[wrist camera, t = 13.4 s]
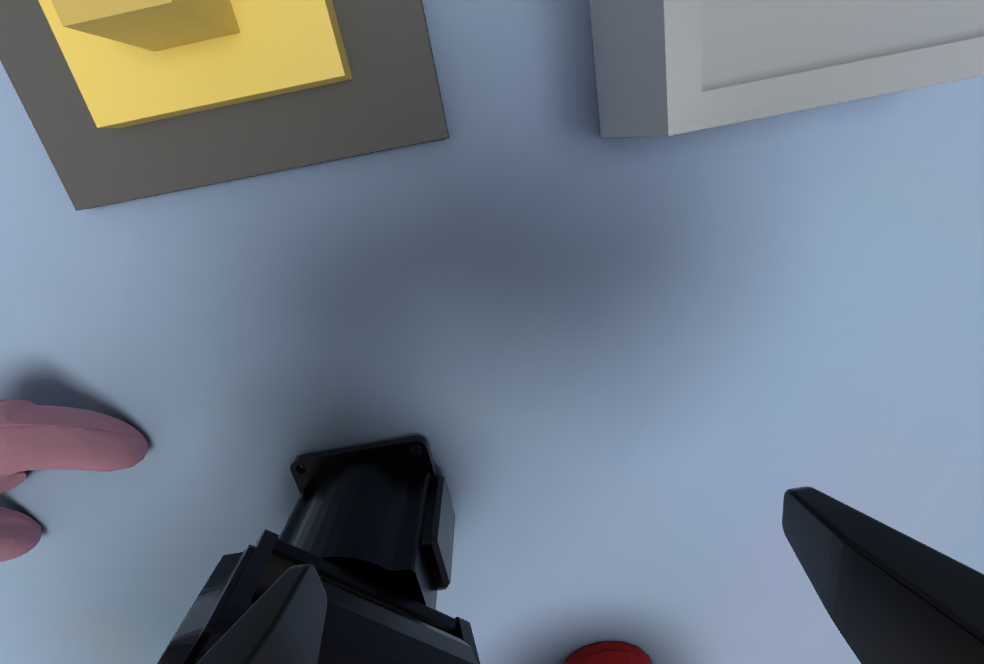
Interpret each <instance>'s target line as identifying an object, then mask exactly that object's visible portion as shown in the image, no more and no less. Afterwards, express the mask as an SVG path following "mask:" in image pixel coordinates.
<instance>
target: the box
mask: <svg viewBox="0 0 984 664" xmlns="http://www.w3.org/2000/svg"><path fill="white" fill-rule="evenodd" d="M589 8H590V19H591V31H592V42H593V54H594V65H595V77H596V88H597V100H598V111H599V123H600V134H601V137H645V136H671V135H676V134H681V133H687V132H692V131H697V130H702V129H707V128H712V127H718V126H723V125H728V124H733V123H738V122H744V121H749V120H754V119H759V118H764V117H769V116H775V115H780V114H785V113H790V112H795V111H801V110H806V109H811V108H816V107H821V106H826V105H832V104H837V103H842V102H847V101H852V100H858V99H863V98H868V97H873V96H878V95H883V94H889V93H894V92H899V91H904V90H909V89H915V88H920V87H925V86H930V85H935V84H940V83H946V82H951V81H956V80H961V79H966V78H972V77H977V76H982V75H984V0H589Z"/></svg>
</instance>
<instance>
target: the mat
mask: <svg viewBox="0 0 984 664" xmlns="http://www.w3.org/2000/svg"><path fill="white" fill-rule="evenodd" d="M332 2H333V6H334V10H335V13H336V17H337V21H338V25H339V29H340V32H341V36H342V40H343V44H344V47H345V51H346V55H347V59H348V63H349V66H350V70H351V74H352V78H353V79H351V80H346V81H341V82H337V83H332V84H327V85H322V86H318V87H313V88H308V89H304V90H299V91H294V92H289V93H285V94H280V95H275V96H270V97H266V98H261V99H256V100H252V101H247V102H242V103H237V104H233V105H228V106H223V107H218V108H214V109H209V110H204V111H199V112H195V113H190V114H185V115H181V116H176V117H171V118H166V119H162V120H157V121H152V122H147V123H143V124H138V125H133V126H129V127H124V128H119V129H118V128H97V126H96V124H95V122H94V120H93V117H92V115H91V113H90V111H89V109H88V107H87V104H86V102H85V100H84V98H83V96H82V94H81V91H80V89H79V87H78V85H77V83H76V81H75V78H74V76H73V74H72V72H71V70H70V68H69V66H68V63H67V61H66V59H65V57H64V55H63V53H62V50H61V48H60V46H59V44H58V42H57V40H56V37H55V35H54V33H53V31H52V29H51V27H50V24H49V22H48V20H47V18H46V16H45V14H44V11H43V9H42V7H41V5H40V3H39V1H38V0H0V60H1V62H2V64H3V66H4V68H5V70H6V72H7V74H8V76H9V78H10V80H11V82H12V84H13V86H14V88H15V90H16V92H17V94H18V96H19V98H20V100H21V102H22V104H23V106H24V108H25V110H26V112H27V114H28V116H29V118H30V120H31V122H32V124H33V126H34V128H35V130H36V132H37V134H38V136H39V138H40V140H41V142H42V144H43V146H44V148H45V150H46V152H47V154H48V156H49V158H50V160H51V161H52V163H53V165H54V167H55V169H56V171H57V173H58V175H59V177H60V179H61V181H62V183H63V185H64V187H65V189H66V191H67V193H68V195H69V197H70V199H71V201H72V203H73V205H74V207H75V209H76V211H77V210H83V209H89V208H94V207H99V206H104V205H109V204H114V203H119V202H124V201H129V200H134V199H139V198H144V197H149V196H155V195H160V194H165V193H170V192H175V191H180V190H185V189H190V188H195V187H200V186H205V185H210V184H215V183H220V182H226V181H231V180H236V179H241V178H246V177H251V176H256V175H261V174H266V173H271V172H276V171H281V170H286V169H291V168H297V167H302V166H307V165H312V164H317V163H322V162H327V161H332V160H337V159H342V158H347V157H352V156H357V155H362V154H368V153H373V152H378V151H383V150H388V149H393V148H398V147H403V146H408V145H413V144H418V143H423V142H428V141H433V140H439V139H444V138H449V135H448V130H447V125H446V120H445V115H444V110H443V105H442V100H441V95H440V90H439V85H438V80H437V75H436V70H435V65H434V60H433V55H432V50H431V45H430V40H429V35H428V30H427V25H426V20H425V15H424V10H423V5H422V0H332Z"/></svg>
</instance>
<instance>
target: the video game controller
mask: <svg viewBox="0 0 984 664" xmlns="http://www.w3.org/2000/svg"><path fill="white" fill-rule="evenodd" d="M147 450H148V443H147V440H146V439H145V437H144V436H143V435H142V434H141V433H140V432H139V431H138V430H137V429H136V428H134V427H132V426H131V425H129V424H127V423H126V422H124V421H122V420H119V419H117V418H114V417H111V416H109V415H106V414H103V413H100V412H95V411H91V410H86V409H80V408H72V407H63V406H51V405H36V404H34V403H33V402H31V401H28V400H23V399H13V400H3V401H0V493H3V492H5V491H7V490H9V489H11V488H13V487H15V486H17V485H18V484H20V483H21V482H22V481H24V480H25V479H26V476H27V475H26V473H25V471H27V470H40V469H73V470H89V471H115V470H120V469H125V468H130V467H132V466H134V465H136V464H137V463H139V462H140V461H141V460H143V458H144V457H145V455H146V454H147ZM40 538H41V526H40V525H39V524H38V523H37V522H36V521H35V520H34V519H32V518H31V517H29V516H28V515H26V514H24V513H21V512H18V511H15V510H11V509H8V508H4V507H1V506H0V562H2V561H6V560H10V559H13V558H16V557H19V556H21V555H23V554H25V553H27V552H28V551H30V550H31V549H32V548H34V547H35V546H36V545H37V543H38V542H39V540H40Z"/></svg>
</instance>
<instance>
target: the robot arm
mask: <svg viewBox="0 0 984 664" xmlns="http://www.w3.org/2000/svg"><path fill="white" fill-rule="evenodd" d="M413 446H420V447H421V448H422V449H419V450H418V449H414V448H413ZM300 465H303V466H305V467H306V468H302V467H300ZM290 469H291V472H292V475H293V477H294V480H295V482H296V484H297V487H298V489H299V491H300V494H301V495H300V497H299V499H298V501H297V503H296V505H295V507H294V509H293V511H292V513H291V515H290V517H289V519H288V521H287V523H286V525H285V527H284V529H283V531H282V533H281V535H280V537H279V535H277V534H275V533H272V532H270V531H268V530H266V529H265V530H264V532H263V533H262V535H261V536H260V538H259V539H258V541H257V542H256V544H255V546H252V545H249V546H248V547H247V549H246V550H244V552H241V553H235V554H229V555H223V557H222V559H221V560H220V562H219V563H218V565H217V566H216V568H215V570H214V571H213V573H212V575H211V576H210V578H209V579H208V581H207V583H206V584H205V586H204V587H203V589H202V591H201V592H200V594H199V595H198V597H197V599H196V600H195V602H194V604H193V605H192V607H191V608H190V610H189V612H188V613H187V615H186V617H185V618H184V620H183V622H182V623H181V625H180V627H179V628H178V630H177V632H176V633H175V635H174V637H173V638H172V640H171V642H170V643H169V645H168V646H167V648H166V650H165V651H164V653H163V655H162V656H161V658H160V660H159V661H158V663H157V664H480V661H479V657H478V653H477V649H476V645H475V641H474V637H473V633H472V629H471V625H470V623H469V622H468V621H466V620H464V619H461V618H459V617H456V618H452V617H450V616H448V615H446V614H443V613H441V612H439V611H437V610H435V608H436V597H437V590H443V589H446V588H447V587H448V585H449V584H450V581H451V567H452V552H453V538H454V523H455V514H454V510H453V507H452V503H451V499H450V496H449V492H448V488H447V485H446V481H445V478H444V477H443V476H442V475H441V474H437V473H436V470H435V466H434V462H433V459H432V455H431V452H430V448H429V444H428V442H427V440H426V439H425V438H423V437H420V436H413V437H407V438H401V439H395V440H389V441H383V442H377V443H371V444H365V445H359V446H353V447H347V448H341V449H336V450H330V451H324V452H318V453H312V454H306V455H300V456H297V457H296V458H295V459H294V461H293V463H292V464H291V467H290ZM782 526H783V530H784V533H785V536H786V538H787V539H788V541H789V543H790V545H791V547H792V549H793V550H794V552H795V554H796V556H797V558H798V559H799V561H800V563H801V565H802V567H803V569H804V570H805V572H806V574H807V576H808V578H809V579H810V581H811V583H812V585H813V587H814V589H815V590H816V592H817V594H818V596H819V598H820V599H821V601H822V603H823V605H824V607H825V608H826V610H827V612H828V614H829V615H830V617H831V619H832V620H833V622H834V623H835V625H836V627H837V628H838V630H839V631H840V633H841V634H842V636H843V637H844V639H845V640H846V642H847V643H848V645H849V646H850V648H851V649H852V650H853V652H854V653H855V655H856V656H857V658H858V659H859V661H860V662H861V664H984V574H982V573H980V572H978V571H976V570H974V569H972V568H970V567H968V566H966V565H964V564H962V563H960V562H958V561H956V560H954V559H952V558H950V557H948V556H946V555H944V554H942V553H941V552H939V551H937V550H935V549H933V548H931V547H929V546H927V545H925V544H923V543H921V542H919V541H917V540H915V539H913V538H911V537H909V536H907V535H905V534H903V533H901V532H899V531H897V530H895V529H893V528H891V527H889V526H887V525H885V524H883V523H881V522H879V521H877V520H875V519H873V518H872V517H870V516H868V515H866V514H864V513H862V512H860V511H858V510H856V509H854V508H852V507H850V506H848V505H846V504H844V503H842V502H840V501H838V500H836V499H834V498H832V497H830V496H828V495H826V494H824V493H822V492H820V491H818V490H816V489H814V488H812V487H800V488H793V489H788V490H787V491H786V492H785V493H784V502H783V516H782ZM278 537H279V539H278Z"/></svg>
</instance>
